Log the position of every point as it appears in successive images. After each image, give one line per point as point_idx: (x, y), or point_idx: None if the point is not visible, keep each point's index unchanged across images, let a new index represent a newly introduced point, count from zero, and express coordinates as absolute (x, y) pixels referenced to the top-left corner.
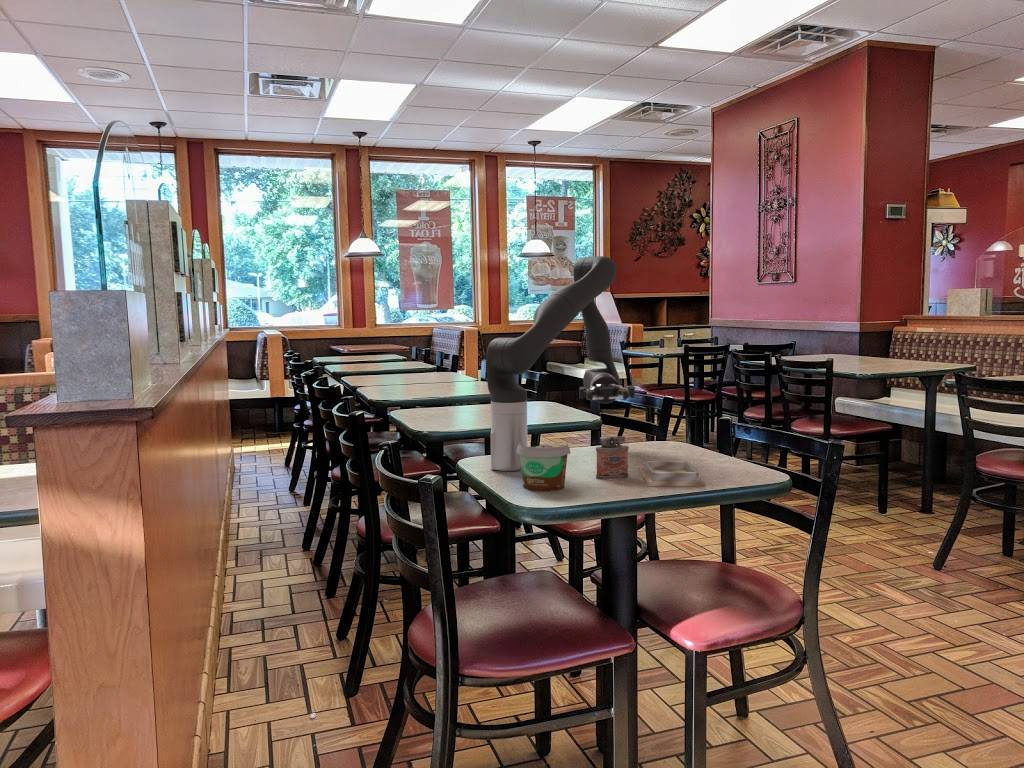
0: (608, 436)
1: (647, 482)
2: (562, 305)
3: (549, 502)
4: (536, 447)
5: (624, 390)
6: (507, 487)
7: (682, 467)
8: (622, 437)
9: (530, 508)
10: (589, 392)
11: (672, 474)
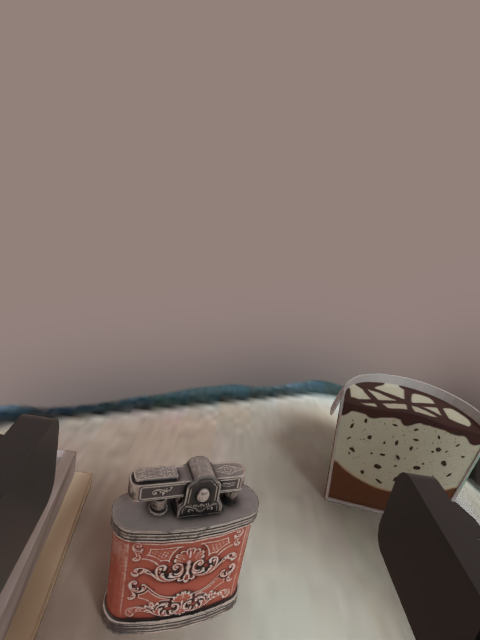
0: (211, 473)
1: (90, 474)
2: None
3: (327, 413)
4: (409, 378)
5: (10, 457)
6: None
7: None
8: (146, 469)
9: None
10: (456, 524)
11: None
